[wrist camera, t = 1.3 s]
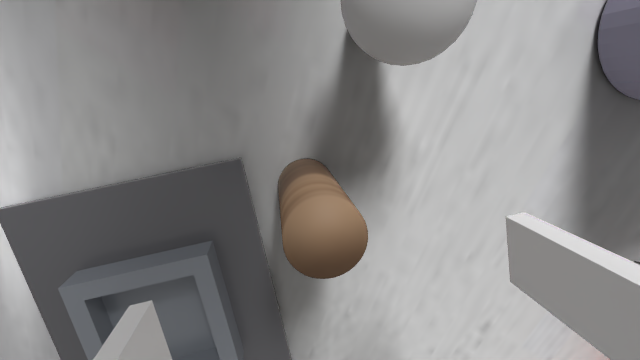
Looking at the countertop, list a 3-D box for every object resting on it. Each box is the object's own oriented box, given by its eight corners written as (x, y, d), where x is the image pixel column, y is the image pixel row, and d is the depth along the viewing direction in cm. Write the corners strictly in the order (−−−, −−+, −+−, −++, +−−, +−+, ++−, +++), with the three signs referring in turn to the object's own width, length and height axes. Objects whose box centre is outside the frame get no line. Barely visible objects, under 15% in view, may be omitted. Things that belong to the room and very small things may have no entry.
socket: (1, 207, 24) (-34, 222, 22) (241, 157, 26) (237, 165, 23) (103, 439, 29) (85, 476, 27) (298, 388, 31) (301, 418, 28)
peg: (272, 165, 26) (274, 208, 16) (327, 153, 26) (360, 189, 17) (284, 217, 27) (292, 287, 17) (337, 205, 27) (373, 267, 18)
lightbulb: (364, 91, 26) (429, 92, 15) (299, 25, 24) (322, -26, 13) (425, 25, 25) (539, -23, 15) (364, -47, 24) (441, -159, 13)
